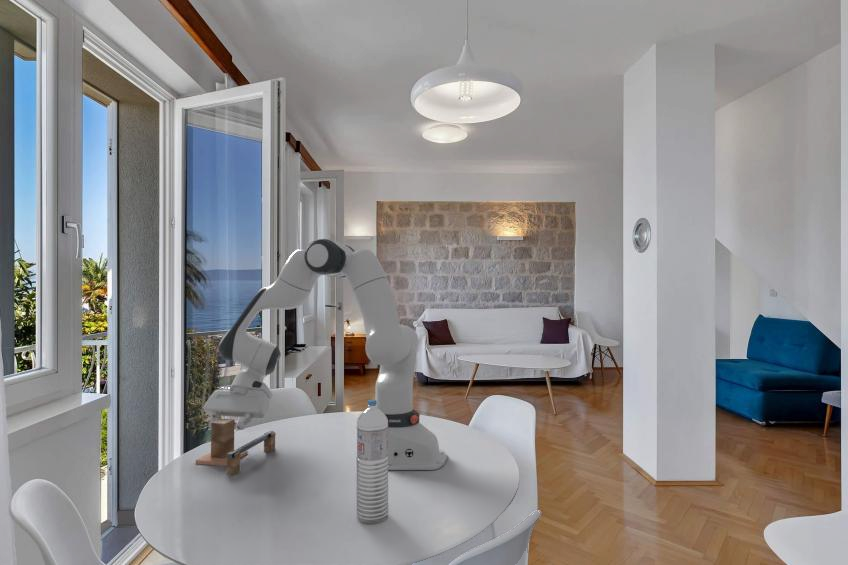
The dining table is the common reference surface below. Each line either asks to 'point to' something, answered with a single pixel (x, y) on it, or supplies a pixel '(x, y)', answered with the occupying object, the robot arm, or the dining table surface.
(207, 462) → the coaster
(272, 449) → the hurdle posts
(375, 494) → the water bottle
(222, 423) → the walnut block
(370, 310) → the robot arm
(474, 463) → the dining table surface
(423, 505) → the dining table surface
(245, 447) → the metal bar
